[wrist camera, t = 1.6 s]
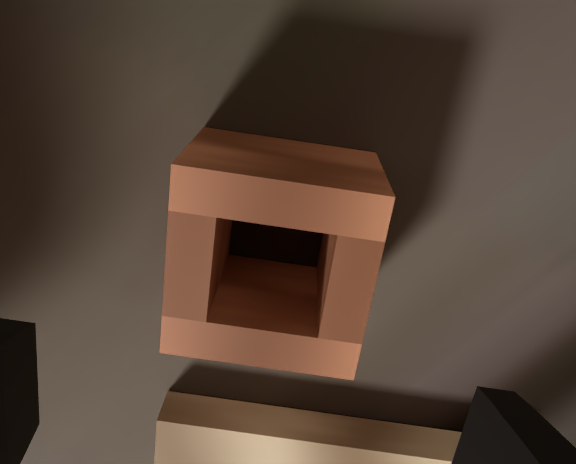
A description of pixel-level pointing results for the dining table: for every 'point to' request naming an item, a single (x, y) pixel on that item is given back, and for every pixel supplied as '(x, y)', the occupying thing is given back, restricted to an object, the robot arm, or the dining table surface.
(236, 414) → the lacing board
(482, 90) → the dining table surface
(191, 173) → the bead
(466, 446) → the robot arm
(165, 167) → the dining table surface
